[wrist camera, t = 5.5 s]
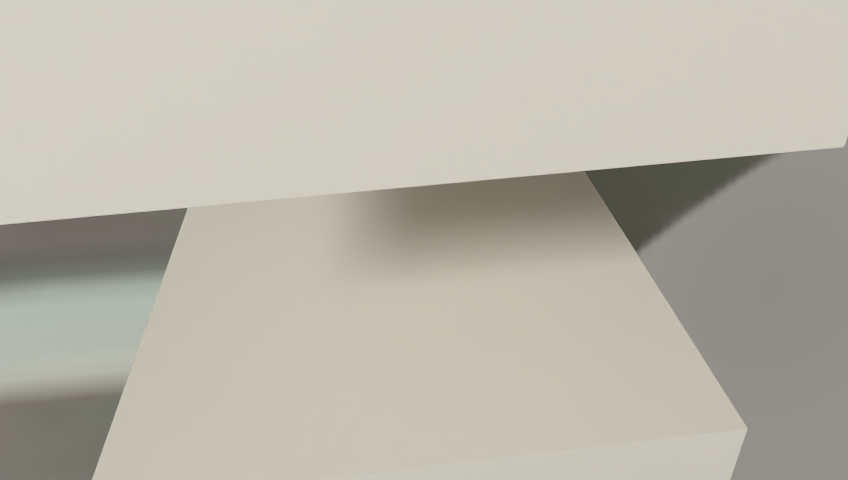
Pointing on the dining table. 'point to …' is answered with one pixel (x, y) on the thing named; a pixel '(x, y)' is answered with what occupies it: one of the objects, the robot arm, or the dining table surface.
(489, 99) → the domino
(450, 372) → the domino
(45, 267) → the dining table surface
